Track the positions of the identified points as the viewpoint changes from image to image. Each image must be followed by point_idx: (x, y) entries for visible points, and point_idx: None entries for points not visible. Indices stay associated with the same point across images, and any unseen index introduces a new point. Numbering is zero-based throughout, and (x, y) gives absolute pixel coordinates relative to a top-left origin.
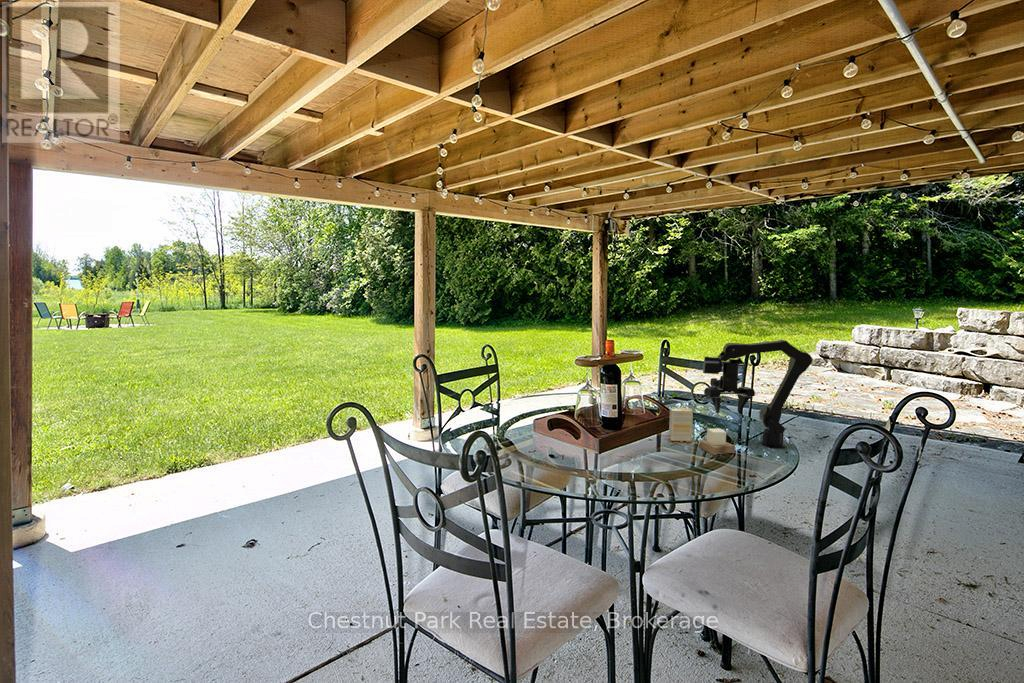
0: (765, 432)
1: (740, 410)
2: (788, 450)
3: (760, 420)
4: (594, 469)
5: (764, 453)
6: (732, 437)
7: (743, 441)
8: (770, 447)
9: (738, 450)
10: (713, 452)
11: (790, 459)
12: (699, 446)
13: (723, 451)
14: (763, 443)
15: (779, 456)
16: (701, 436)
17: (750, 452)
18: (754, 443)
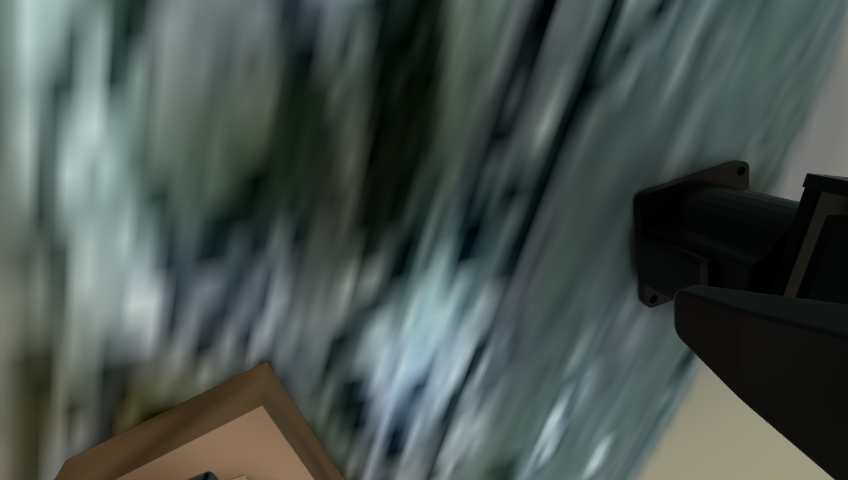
0: (723, 282)
1: (731, 379)
2: None
3: (833, 237)
4: None
5: (551, 422)
6: (471, 40)
7: (523, 166)
8: (643, 303)
9: (402, 415)
10: None
11: (638, 476)
12: (60, 477)
13: None
14: (637, 249)
15: (609, 447)
16: (116, 39)
17: (471, 431)
18: (586, 208)
